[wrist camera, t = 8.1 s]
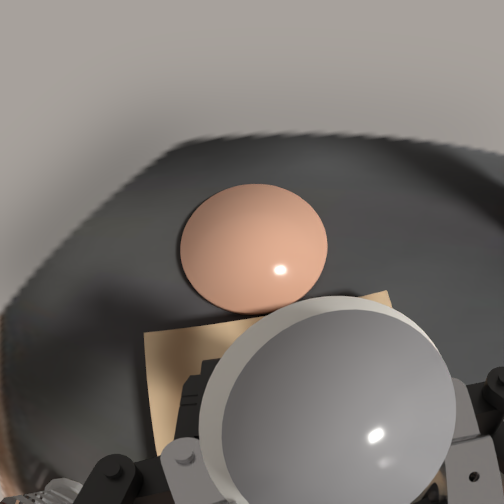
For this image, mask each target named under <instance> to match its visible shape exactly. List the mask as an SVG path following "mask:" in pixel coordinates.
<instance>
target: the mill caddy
mask: <svg viewBox="0 0 504 504" xmlns="http://www.w3.org/2000/svg"><path fill="white" fill-rule="evenodd" d="M359 298H363V299H367V300H372V301H375V302H378V303H381V304H383V305H386V306H389V307H391V308H392V305H391V302H390V299H389V296H388V293H387V291H383V292H379V293H374V294H370V295H366V296H362V297H359ZM263 317H265V316H262V317H256V318H250V319H244V320H237V321H231V322H225V323H218V324H211V325H204V326H197V327H189V328H181V329H173V330H165V331H156V332H147V333H144V345H145V360H146V373H147V384H148V393H149V402H150V411H151V418H152V426H153V433H154V439H155V446H156V452H157V456H160V455H161V453H162V451H163V449H164V448H165V446H166V445H167V444H169V443H170V442H172V441H173V440H174V435H175V429H176V423H177V417H178V411H179V407H180V399H181V393H182V388H183V385H184V383H185V382H186V380H187V379H188V378H189V376H190V375H199V374H200V372H201V364H202V361H203V360H209V359H217V358H222V356H223V355H224V353H225V352H226V351H227V349H228V348H229V347H230V346H231V345H232V344H233V342H234V341H235V340H236V339H237V338H238V337H239V336H240V335H241V334H243V333H244V332H245V331H246V330H247V329H248V328H249V327H251V326H252V325H253V324H255V323H256V322H258V321H259V320H261V319H262V318H263Z"/></svg>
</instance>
